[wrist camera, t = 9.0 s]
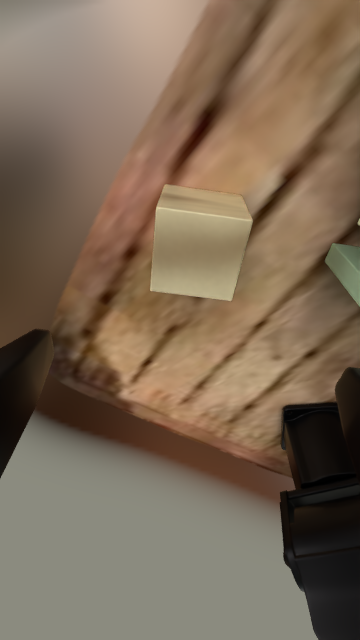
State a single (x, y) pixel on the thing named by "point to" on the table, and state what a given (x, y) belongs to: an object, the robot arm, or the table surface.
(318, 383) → the table surface
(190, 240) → the block
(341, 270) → the drawer
